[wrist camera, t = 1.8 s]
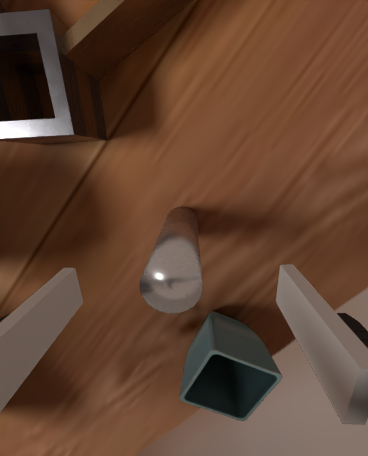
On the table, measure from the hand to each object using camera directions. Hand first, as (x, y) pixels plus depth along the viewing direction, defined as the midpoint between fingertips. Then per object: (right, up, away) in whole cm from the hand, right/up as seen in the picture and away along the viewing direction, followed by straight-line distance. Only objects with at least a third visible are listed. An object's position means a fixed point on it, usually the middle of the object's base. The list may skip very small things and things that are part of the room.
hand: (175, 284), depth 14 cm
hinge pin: (0, +4, +13) cm, 14 cm away
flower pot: (+6, -11, +18) cm, 23 cm away
